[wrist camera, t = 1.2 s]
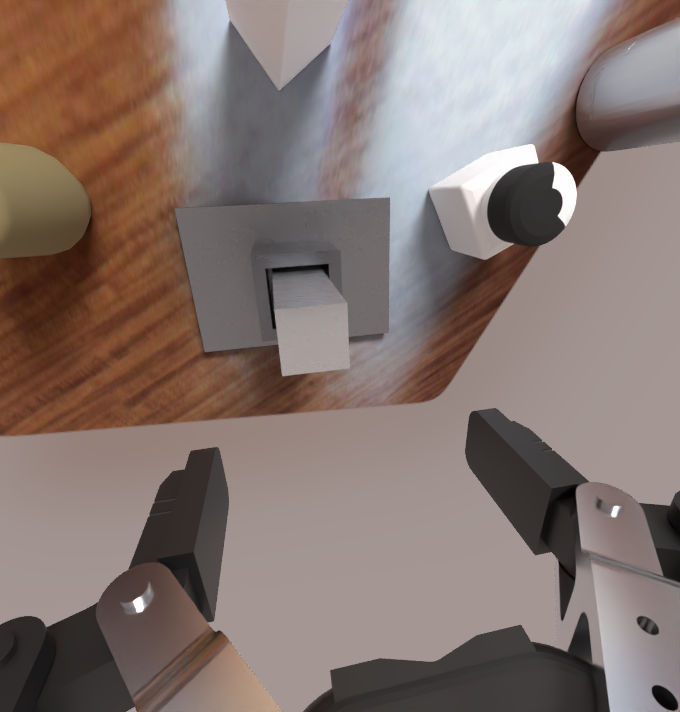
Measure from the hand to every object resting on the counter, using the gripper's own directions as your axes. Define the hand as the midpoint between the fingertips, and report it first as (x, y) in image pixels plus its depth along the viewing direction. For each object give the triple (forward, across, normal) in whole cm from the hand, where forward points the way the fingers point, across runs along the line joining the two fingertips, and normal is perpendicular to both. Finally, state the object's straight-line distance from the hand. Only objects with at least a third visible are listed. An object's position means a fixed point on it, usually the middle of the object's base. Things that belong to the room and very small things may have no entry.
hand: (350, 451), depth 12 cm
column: (+28, 0, 0) cm, 28 cm away
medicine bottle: (+30, -19, -6) cm, 36 cm away
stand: (+29, 0, 0) cm, 29 cm away
